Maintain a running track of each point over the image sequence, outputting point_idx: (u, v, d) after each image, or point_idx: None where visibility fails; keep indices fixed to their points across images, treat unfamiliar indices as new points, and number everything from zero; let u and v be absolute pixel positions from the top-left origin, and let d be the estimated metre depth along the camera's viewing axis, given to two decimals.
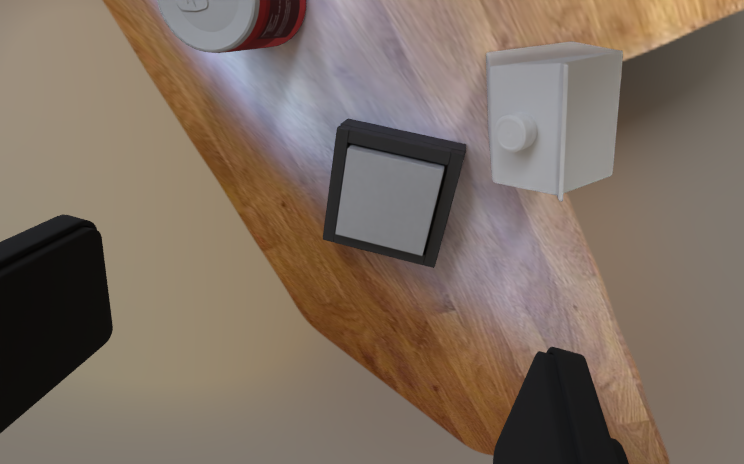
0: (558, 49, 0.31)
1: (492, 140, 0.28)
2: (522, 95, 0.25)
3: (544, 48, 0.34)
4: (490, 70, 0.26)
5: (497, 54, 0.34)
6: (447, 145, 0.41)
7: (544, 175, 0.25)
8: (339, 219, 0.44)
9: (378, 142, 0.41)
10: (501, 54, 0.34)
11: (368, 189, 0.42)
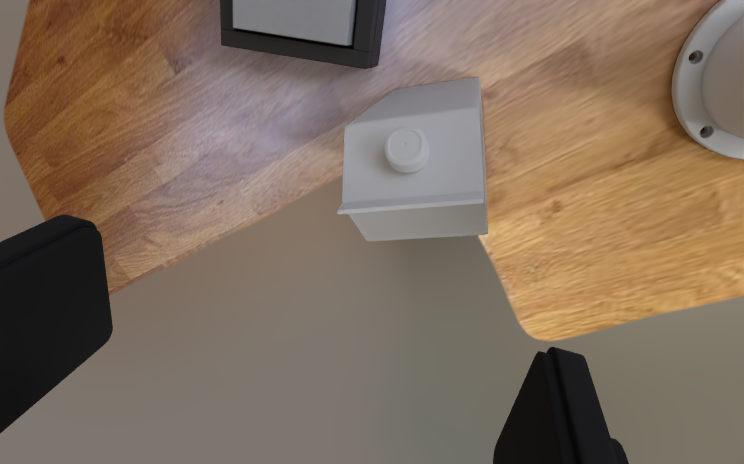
0: (484, 161, 0.30)
1: (394, 119, 0.23)
2: (447, 151, 0.22)
3: None
4: (474, 108, 0.22)
5: (480, 95, 0.31)
6: (375, 44, 0.34)
7: (361, 187, 0.23)
8: None
9: None
10: (480, 100, 0.31)
11: None
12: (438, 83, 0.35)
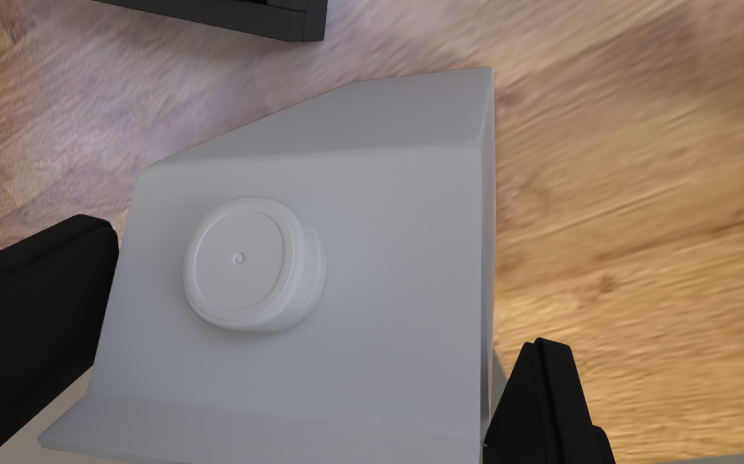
0: None
1: (252, 163, 0.09)
2: (379, 277, 0.07)
3: None
4: (467, 148, 0.08)
5: (492, 101, 0.16)
6: None
7: (141, 351, 0.08)
8: None
9: None
10: None
11: None
12: (421, 75, 0.21)
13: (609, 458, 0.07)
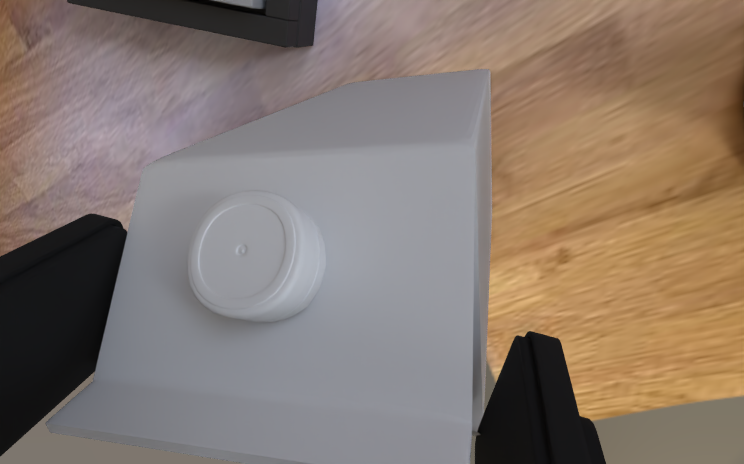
0: None
1: (254, 160, 0.09)
2: (376, 269, 0.08)
3: (489, 188, 0.18)
4: (462, 146, 0.08)
5: (488, 102, 0.17)
6: (304, 10, 0.23)
7: (146, 340, 0.08)
8: None
9: None
10: None
11: None
12: (419, 76, 0.21)
13: (597, 448, 0.07)
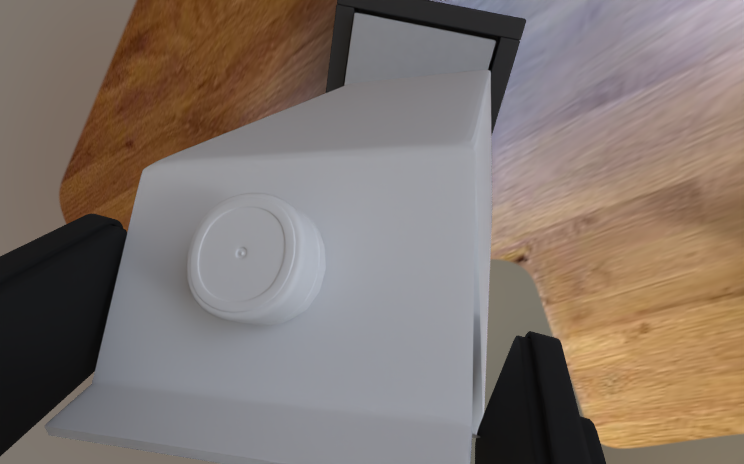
0: (488, 232, 0.16)
1: (254, 162, 0.09)
2: (377, 272, 0.08)
3: None
4: (462, 148, 0.08)
5: (488, 103, 0.17)
6: None
7: (145, 343, 0.08)
8: (379, 21, 0.28)
9: (497, 86, 0.29)
10: (488, 113, 0.16)
11: (430, 73, 0.28)
12: (419, 77, 0.21)
13: (597, 449, 0.07)
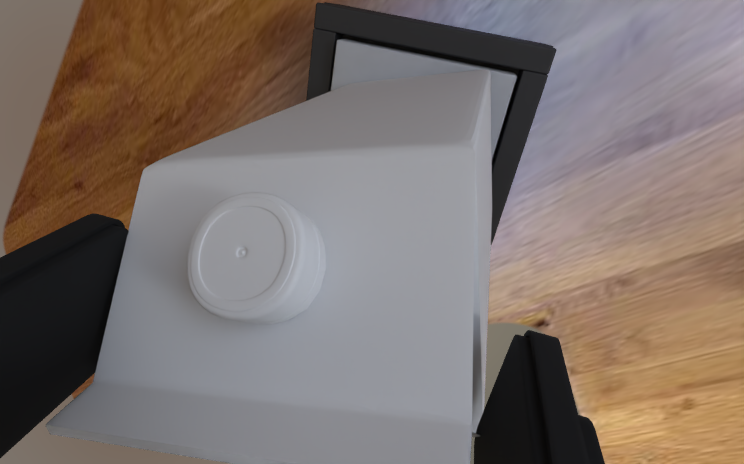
0: (488, 232, 0.16)
1: (254, 161, 0.09)
2: (377, 271, 0.08)
3: None
4: (462, 148, 0.08)
5: (488, 103, 0.17)
6: None
7: (146, 342, 0.08)
8: (369, 50, 0.22)
9: (518, 131, 0.23)
10: None
11: None
12: (419, 77, 0.21)
13: (595, 447, 0.07)
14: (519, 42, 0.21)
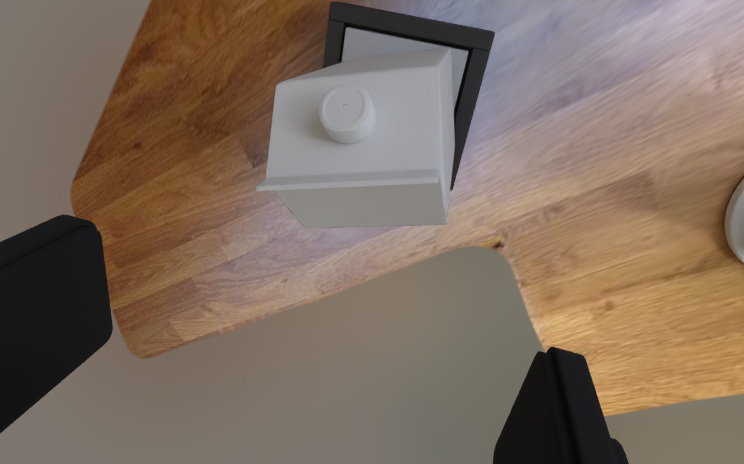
0: None
1: (336, 78, 0.19)
2: (398, 118, 0.18)
3: (451, 121, 0.28)
4: (433, 67, 0.18)
5: None
6: None
7: (290, 159, 0.18)
8: (368, 35, 0.32)
9: (471, 91, 0.33)
10: None
11: None
12: (404, 52, 0.31)
13: None
14: (469, 29, 0.31)
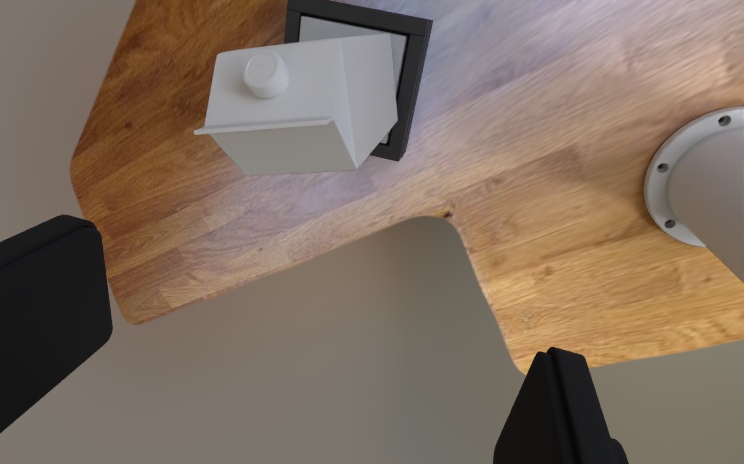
0: (377, 109, 0.31)
1: (262, 48, 0.24)
2: (306, 78, 0.22)
3: (384, 95, 0.33)
4: (336, 39, 0.23)
5: (379, 46, 0.32)
6: (406, 139, 0.42)
7: (223, 111, 0.23)
8: (320, 22, 0.37)
9: (410, 72, 0.37)
10: (378, 50, 0.31)
11: None
12: None
13: None
14: (406, 17, 0.36)
